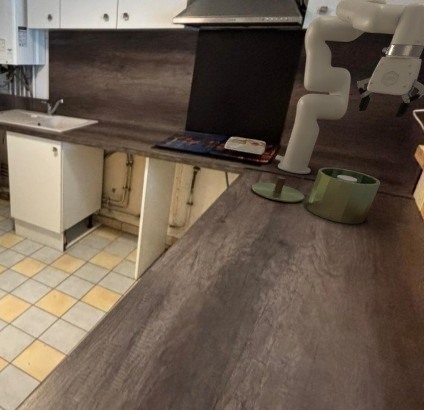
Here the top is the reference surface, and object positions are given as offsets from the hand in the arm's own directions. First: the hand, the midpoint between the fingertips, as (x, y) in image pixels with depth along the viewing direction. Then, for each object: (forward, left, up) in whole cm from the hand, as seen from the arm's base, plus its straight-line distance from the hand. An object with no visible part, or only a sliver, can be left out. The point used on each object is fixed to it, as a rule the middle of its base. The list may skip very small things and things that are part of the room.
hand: (380, 113), depth 109 cm
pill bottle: (+2, -11, -30) cm, 32 cm away
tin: (+2, -12, -30) cm, 32 cm away
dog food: (-60, +30, -31) cm, 74 cm away
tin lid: (-16, -14, -30) cm, 37 cm away
